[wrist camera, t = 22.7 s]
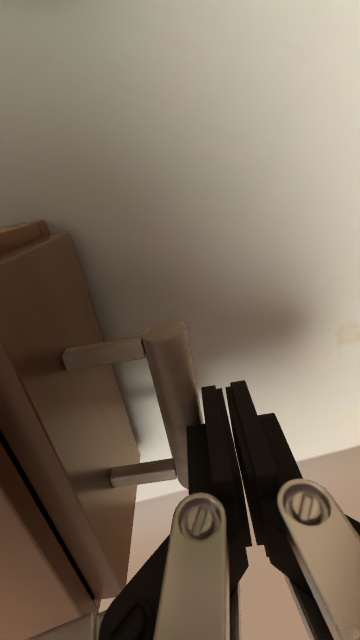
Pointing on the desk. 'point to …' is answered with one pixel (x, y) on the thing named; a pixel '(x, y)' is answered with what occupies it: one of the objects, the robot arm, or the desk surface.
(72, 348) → the drawer
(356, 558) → the robot arm
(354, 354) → the desk surface
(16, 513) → the cabinet
